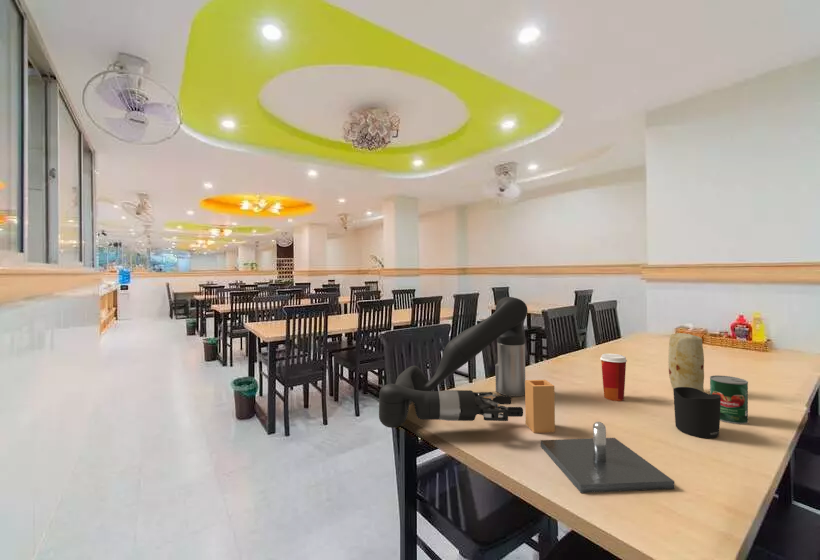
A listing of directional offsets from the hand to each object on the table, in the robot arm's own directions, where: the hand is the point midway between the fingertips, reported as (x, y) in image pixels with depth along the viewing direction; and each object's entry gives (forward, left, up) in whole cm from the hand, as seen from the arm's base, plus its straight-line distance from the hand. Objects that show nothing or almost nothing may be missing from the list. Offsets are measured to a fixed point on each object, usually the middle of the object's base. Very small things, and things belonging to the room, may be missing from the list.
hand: (516, 405), depth 93 cm
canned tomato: (+41, +45, -7) cm, 61 cm away
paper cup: (+13, +43, -7) cm, 45 cm away
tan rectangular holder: (+4, +5, -6) cm, 9 cm away
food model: (+30, +65, -7) cm, 72 cm away
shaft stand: (+21, -5, -6) cm, 23 cm away
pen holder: (+35, +29, -7) cm, 46 cm away
